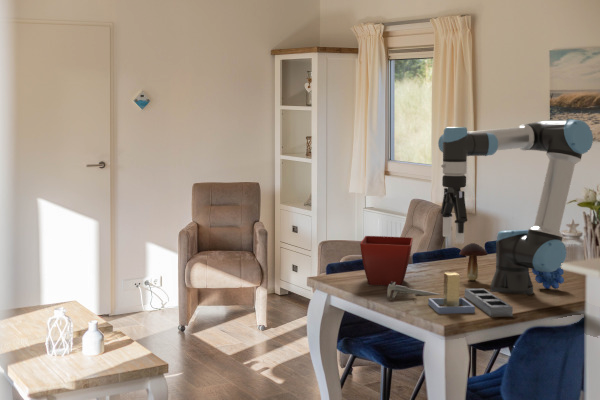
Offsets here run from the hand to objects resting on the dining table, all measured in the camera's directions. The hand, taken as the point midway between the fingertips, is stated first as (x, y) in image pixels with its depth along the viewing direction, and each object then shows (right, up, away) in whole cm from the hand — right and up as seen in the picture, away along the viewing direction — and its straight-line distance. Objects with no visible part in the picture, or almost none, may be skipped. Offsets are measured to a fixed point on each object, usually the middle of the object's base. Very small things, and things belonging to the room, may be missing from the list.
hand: (453, 239), depth 230 cm
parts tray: (0, -24, +2) cm, 24 cm away
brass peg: (0, -23, +2) cm, 23 cm away
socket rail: (+13, -24, +5) cm, 27 cm away
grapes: (+43, -21, +35) cm, 59 cm away
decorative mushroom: (+19, -19, +50) cm, 57 cm away
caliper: (-9, -22, +22) cm, 32 cm away
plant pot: (-16, -20, +46) cm, 52 cm away
